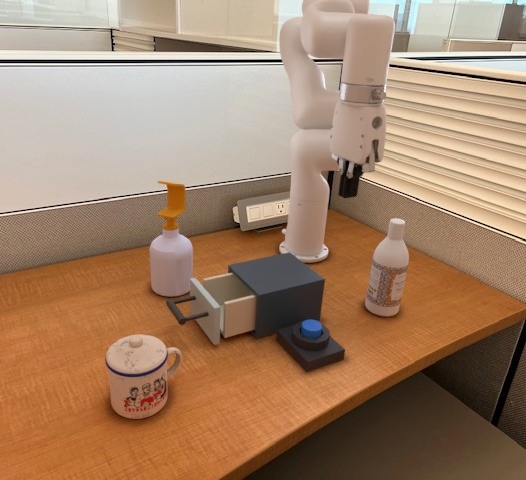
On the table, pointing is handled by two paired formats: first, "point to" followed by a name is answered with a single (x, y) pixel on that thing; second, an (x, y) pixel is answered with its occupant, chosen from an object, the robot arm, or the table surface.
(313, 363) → the panel
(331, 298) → the table surface
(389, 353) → the table surface
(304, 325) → the button
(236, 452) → the table surface
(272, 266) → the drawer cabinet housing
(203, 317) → the drawer
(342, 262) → the table surface
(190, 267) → the soap bottle
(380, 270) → the bath foam
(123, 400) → the teacup with lid
